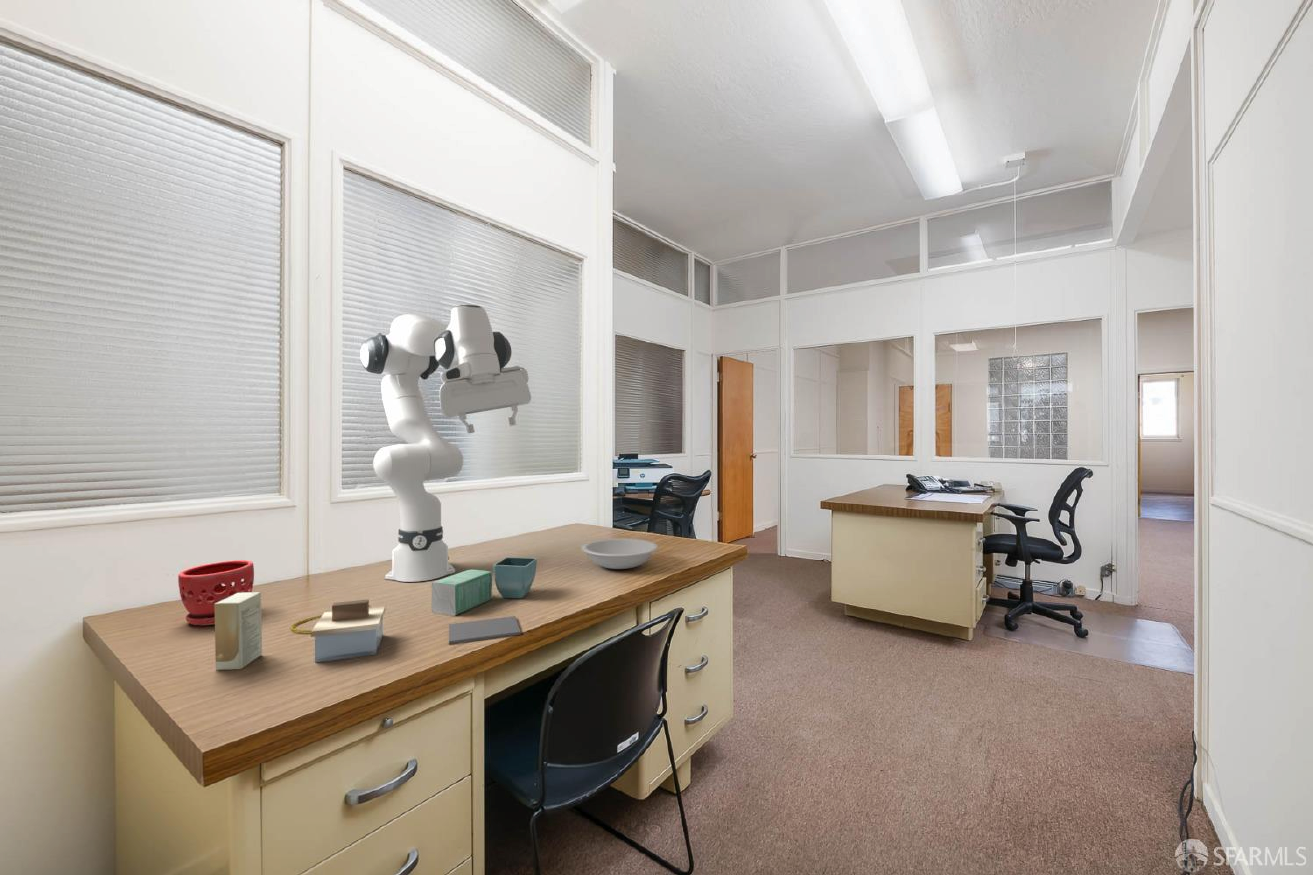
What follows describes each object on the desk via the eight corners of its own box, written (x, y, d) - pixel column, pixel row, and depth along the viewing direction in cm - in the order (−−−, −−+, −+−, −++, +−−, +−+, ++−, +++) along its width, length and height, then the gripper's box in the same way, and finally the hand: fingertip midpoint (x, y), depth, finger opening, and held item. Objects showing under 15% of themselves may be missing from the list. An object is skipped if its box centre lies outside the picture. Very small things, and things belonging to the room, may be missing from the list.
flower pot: (537, 591, 139) (537, 557, 139) (526, 601, 131) (526, 566, 131) (506, 590, 140) (505, 556, 140) (492, 600, 132) (492, 565, 131)
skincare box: (239, 655, 99) (238, 591, 99) (263, 654, 99) (262, 591, 99) (213, 671, 93) (212, 602, 92) (239, 670, 93) (238, 602, 93)
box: (493, 599, 133) (492, 569, 133) (456, 617, 120) (455, 584, 120) (469, 596, 135) (469, 567, 135) (430, 613, 123) (430, 581, 123)
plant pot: (235, 605, 127) (235, 557, 127) (266, 614, 121) (265, 563, 121) (166, 623, 115) (166, 569, 115) (197, 634, 109) (196, 577, 109)
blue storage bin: (327, 642, 105) (327, 617, 105) (382, 635, 109) (382, 611, 109) (314, 662, 96) (314, 635, 96) (376, 654, 100) (375, 628, 100)
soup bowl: (628, 582, 148) (628, 559, 148) (565, 569, 161) (565, 548, 161) (672, 564, 168) (672, 543, 168) (613, 554, 181) (613, 535, 181)
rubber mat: (449, 626, 114) (449, 624, 114) (515, 618, 119) (515, 615, 119) (449, 644, 104) (449, 641, 104) (520, 634, 110) (520, 631, 110)
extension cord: (371, 628, 114) (371, 619, 114) (284, 640, 108) (284, 630, 108) (376, 611, 125) (376, 602, 125) (298, 620, 119) (298, 611, 119)
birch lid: (324, 616, 106) (324, 597, 106) (385, 610, 110) (385, 591, 110) (310, 636, 95) (310, 615, 95) (378, 628, 99) (378, 607, 99)
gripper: (525, 368, 128) (536, 422, 127) (437, 381, 122) (448, 439, 121) (525, 361, 122) (537, 418, 121) (433, 375, 116) (444, 435, 115)
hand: (492, 428), depth 121 cm, fingers open, 8 cm apart
